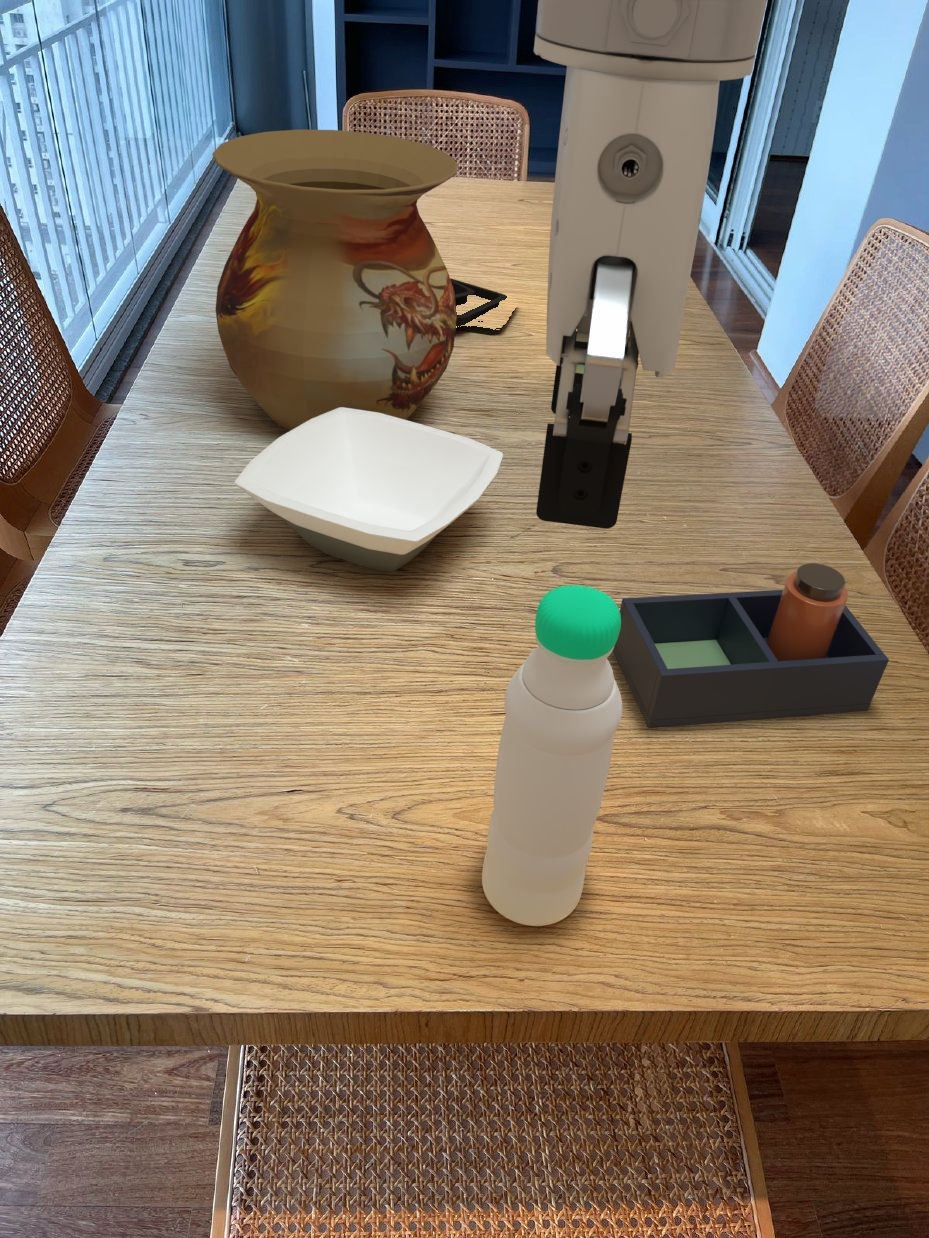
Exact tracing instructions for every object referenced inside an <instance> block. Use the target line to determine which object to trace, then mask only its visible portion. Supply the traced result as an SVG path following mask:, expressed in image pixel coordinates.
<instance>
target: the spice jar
mask: <svg viewBox="0 0 929 1238" xmlns="http://www.w3.org/2000/svg"><path fill="white" fill-rule="evenodd" d="M845 585H846V578H845V577H844V576H843V574H842V573H840V571H838V570H837V569H835V568H833V567H831V566H829V565H826V564H821V563H816V562H814V563H811V562H809V563H805V564H801V565H800V566H798V567H797V570H796V572H793V573H791V574H790V575H788V576H787V578H786V580H785V583H784V586H783V589H782V590H783V592H782V595H781V598H780V601H779V604H778V607H777V611H776V614H775V617H774V620H773V623H772V626H771V629H770V632H769V635H768V638H767V641H766V643H767V645H768V646H769V648H770V649H771V651H772V652H773V654H774V655H775V657H776V658H777V660H778V661H791V660H806V659H820V658H826V655H827V652H828V650H829V647H830V644H831V642H832V639H833V636H834V634H835V631H836V628H837V626H838V623H839V620H840V618H841V615H842V612H843V610H844V607H845V605H847V602H848V599H849V592H848V590H847V588H846V586H845Z"/></svg>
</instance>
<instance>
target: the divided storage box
mask: <svg viewBox="0 0 929 1238" xmlns="http://www.w3.org/2000/svg"><path fill="white" fill-rule="evenodd" d="M782 592H783V589H771V590H769V589H768V590H754V591H735V592H734V591H733V592H717V593H697V594H681V595H679V594H678V595H677V594H676V595H660V596H658V595H657V596H643V597H641V596H640V597H624V598H622V599H621V602H620V608H619V612H620V615H621V628H620V633H619V636H618V639H617V642H616V644H615V645H614V648H613V651H612V653H613V655H614V657H615V660H616V661H617V662H616V663H617V664H618V666H619V668H620V671H621V673H622V675H623V676H624V679H625V680H626V684H627V685H628V687H629V690H630V691H631V694H632V696H633V698H634V700H635V703H636V704H637V706H638V709H639V710H640V713H641V715H642V718H643V719H644V721H645V724H646V726H647V728H648V729H657V728H658V729H660V728H671V727H685V726H697V725H707V724H708V725H709V724H721V723H733V722H747V721H758V720H770V719H772V720H773V719H784V718H797V717H809V716H810V717H811V716H822V715H834V714H835V715H836V714H846V713H847V714H848V713H859V712H868V711H869V708H870V706H871V703H872V701H873V700H874V699H873V698H874V696H875V694H876V691H877V689H878V687H879V685H880V683H881V680H882V677H883V675H884V673H885V670H886V668H887V666H888V663H889V661H890V659H889V658H888V656H887V655H886V654H885V653H884V652H883V650H882V649H881V648H880V646H879V645H878V644H877V643H876V642H875V640H874V639H873V637H872V636H871V635H870V634H869V632H867V630H866V629H865V628H864V626H863V625H862V624H861V622H859V620H858V619H857V618H856V616H855V615H854V614H853V613H852V611H851V610H850V609H849V607H848V606H847V604H845V607H844V610H843V612H842V615H841V618H840V620H839V623H838V626H837V628H836V631H835V634H834V636H833V639H832V642H831V644H830V647H829V650H828V652H827V655H826V658H820V659H806V660H791V661H778V660H777V658H776V657H775V655H774V654H773V652H772V651H771V649H770V648H769V646H768V645H767V643H766V641H767V638H768V635H769V632H770V629H771V626H772V623H773V620H774V617H775V614H776V611H777V607H778V604H779V601H780V598H781V595H782Z"/></svg>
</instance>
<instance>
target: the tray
mask: <svg viewBox="0 0 929 1238" xmlns="http://www.w3.org/2000/svg"><path fill="white" fill-rule="evenodd" d="M450 280H451V283H452V286H453V289H454V293H455V302H456V306H457V305H461V304H465V303H466V302H467V296H468V295H476V296H479V297H481V298H485V299H488V300H491V301H490V302H487V303H485V304H483V305H481V306H479V307H477V308H475V309H472V310H470V311H468V312H466V313H464V314H462V315H456V326H457V328H456V330H458V331H463V332H468V333H476V334H481V335H488V336H494V335H495V336H496V335H498V334H500V332H501V331H502V329H503V328H496V329H501V330H496V329H495V330H493V329H490V328H483V327H477V326H471V327H470V326H468V327H467V326H461V325H465V324H466V323H468V322H470V321H472V320H473V319H476V318H477V317H479V316H480V315H483V314H485V313H486V312H488V311H489V310H491V309H493V308H496V307H498V305H499V302H500V301H502V300H505V299H506V298H507V296H506V295H507V294H504V293H502V292H497V291H495V290H491V289H488V288H484V287H481V286H478V285H475V284H471V283H469V282H465V281H461V280H457V279H455V278H451V277H450ZM478 322H480V321H478ZM481 322H483V321H481ZM458 326H459V327H458ZM460 326H461V327H460Z"/></svg>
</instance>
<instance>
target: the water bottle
mask: <svg viewBox="0 0 929 1238" xmlns="http://www.w3.org/2000/svg"><path fill="white" fill-rule="evenodd" d="M534 620H535V621H534V631H535V641H536V644H537V646H536V647H535V648H534V649H533V650H532V651H531V652H530V653H529V654H528V656H527V657H526V659H525V661H524V662H523V663H522V665H521V666H520V667H519V668H518V669H517V670H516V671H515V672H514V674H513V675H512V677H511V678H510V679H509V682H508V684H507V686H506V690H505V693H504V704H503V705H504V712H505V713H504V714H505V716H504V719H503V720H504V721H503V723H502V728H501V733H500V738H499V745H498V751H497V758H496V765H495V774H494V783H493V803H492V804H493V805H492V806H493V807H492V811H491V815H490V818H489V821H488V826H487V827H488V828H487V838H486V839H487V841H486V842H487V848H486V850H485V855H484V859H483V865H482V871H481V885H482V889H483V890H482V891H483V893H484V895H485V897H486V899H487V901H488V903H489V904H490V905H491V906H492V907H493V909H494V910H495V911H496V912H498V913H499V914H500V915H501V916H503V917H504V918H505V919H508V920H509V921H512V922H514V923H517V924H520V925H524V926H530V927H531V926H532V927H542V926H548V925H553V924H556V923H558V922H560V921H563V920H564V919H566V918H567V917H569V915H571V914H572V912H574V910H575V909H576V908H577V906H578V904H579V902H580V900H581V897H582V894H583V890H584V884H585V878H586V866H587V865H588V862H589V860H590V856H591V852H592V847H593V842H594V827H595V825H596V822H597V819H598V816H599V813H600V809H601V806H602V802H603V798H604V794H605V789H606V787H607V786H606V785H607V781H608V776H609V772H610V767H611V761H612V755H613V749H614V741H615V734H616V733H617V731H618V729H619V726H620V724H621V720H622V716H623V715H622V714H623V700H622V695H621V692H620V689H619V686H618V684H617V681H616V679H615V676H614V670H613V667H612V665H611V663H610V661H609V660H608V657H609V656H610V655H611V654H612V653H613V648H614V645H615V644H616V642H617V639H618V636H619V633H620V628H621V615H620V608H619V607H618V605H617V603H616V602H615V600H613V598H612V597H610V596H609V595H608V594H607V593H605V592H604V591H602V590H599V589H597V588H593V587H592V586H586V585H580V584H577V585H574V584H570V585H567V584H566V585H560V586H558V587H554V588H553V589H551V590H549V591H548V592H547V593H545V594H544V595H543V597H541V599H540V601H539V603H538V605H537V609H536V613H535V619H534Z"/></svg>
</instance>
